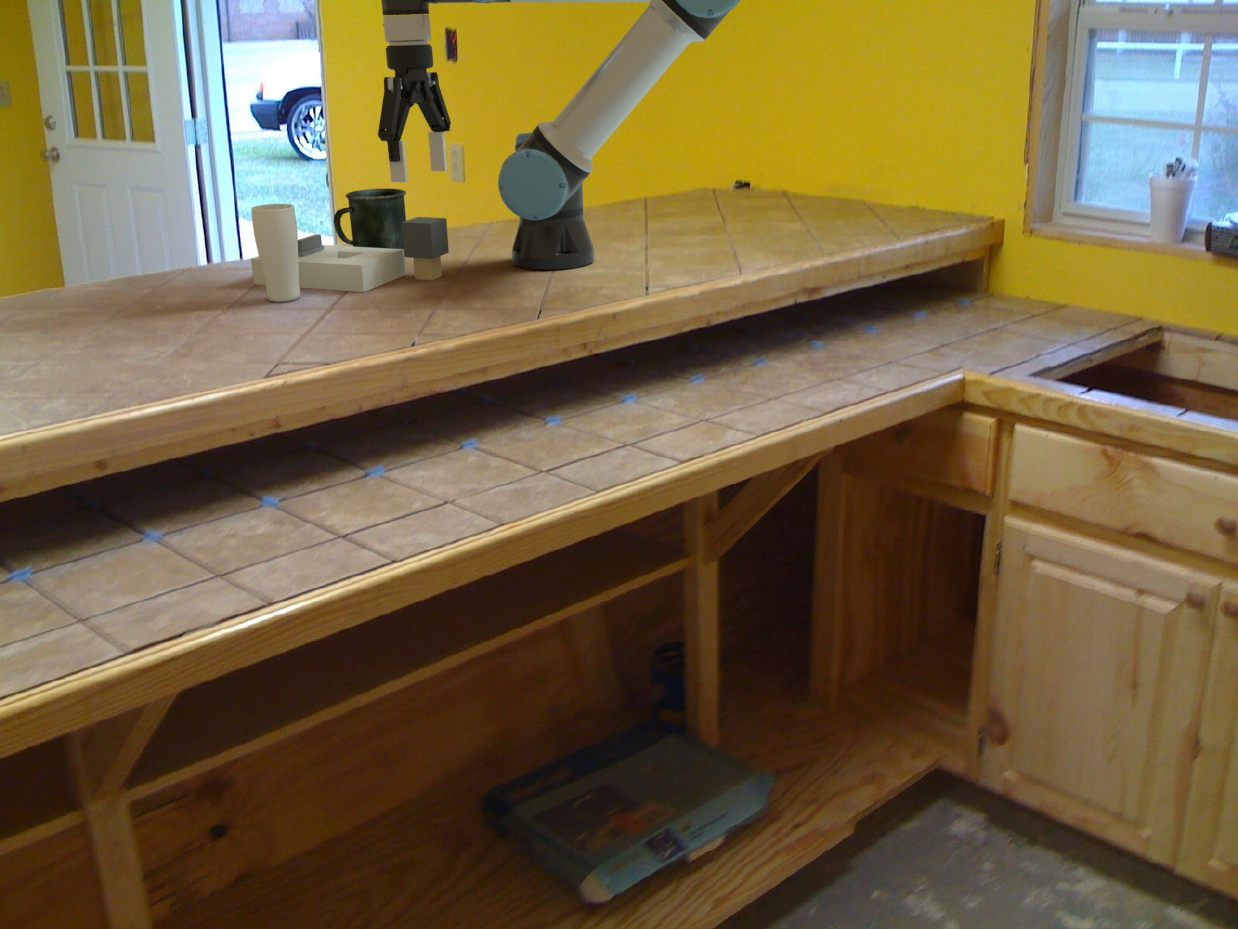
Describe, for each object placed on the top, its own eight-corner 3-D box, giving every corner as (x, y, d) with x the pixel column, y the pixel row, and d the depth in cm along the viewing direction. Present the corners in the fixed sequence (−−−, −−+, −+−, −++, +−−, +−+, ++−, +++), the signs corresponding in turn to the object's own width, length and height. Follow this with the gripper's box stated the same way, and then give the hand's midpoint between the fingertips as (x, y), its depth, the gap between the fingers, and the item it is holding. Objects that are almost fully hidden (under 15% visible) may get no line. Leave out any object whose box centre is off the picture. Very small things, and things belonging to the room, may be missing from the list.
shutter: (324, 249, 210) (322, 234, 209) (303, 256, 205) (301, 241, 204) (293, 247, 213) (291, 232, 212) (271, 254, 207) (269, 239, 206)
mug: (422, 256, 226) (417, 192, 222) (353, 267, 218) (346, 201, 213) (392, 248, 234) (387, 186, 230) (325, 259, 225) (318, 195, 221)
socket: (406, 274, 211) (404, 249, 209) (363, 292, 198) (361, 265, 197) (301, 268, 218) (298, 243, 216) (254, 284, 206) (250, 258, 204)
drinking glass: (283, 305, 191) (271, 211, 185) (253, 301, 194) (241, 208, 189) (314, 297, 196) (303, 205, 190) (285, 292, 199) (273, 202, 194)
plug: (450, 275, 210) (446, 218, 206) (434, 281, 205) (430, 223, 201) (422, 273, 211) (417, 216, 208) (406, 280, 207) (401, 222, 203)
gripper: (425, 40, 206) (436, 166, 214) (346, 47, 184) (361, 186, 192) (464, 40, 204) (473, 166, 211) (388, 46, 182) (402, 187, 190)
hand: (420, 176), depth 202 cm, fingers open, 13 cm apart
